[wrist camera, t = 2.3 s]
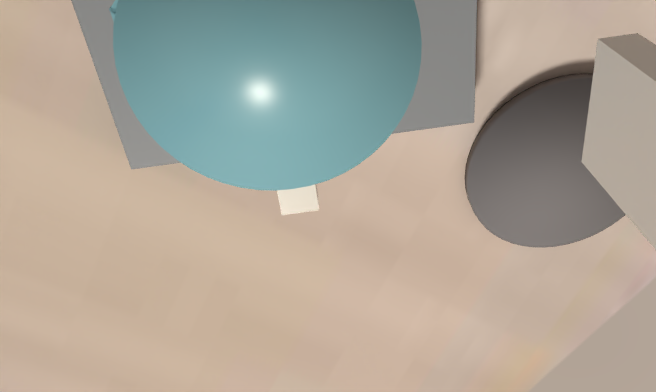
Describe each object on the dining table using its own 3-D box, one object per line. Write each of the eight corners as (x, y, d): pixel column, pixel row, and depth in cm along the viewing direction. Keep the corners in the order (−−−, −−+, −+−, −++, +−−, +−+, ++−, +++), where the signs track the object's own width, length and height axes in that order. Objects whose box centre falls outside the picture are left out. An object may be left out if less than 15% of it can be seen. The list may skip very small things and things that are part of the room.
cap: (105, -183, 17) (33, -172, 12) (374, -221, 17) (414, -226, 12) (198, 153, 23) (176, 252, 18) (395, 126, 23) (427, 218, 18)
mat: (465, 89, 28) (469, 94, 28) (676, 60, 28) (683, 65, 28) (463, 251, 34) (466, 258, 33) (639, 227, 34) (645, 234, 33)
